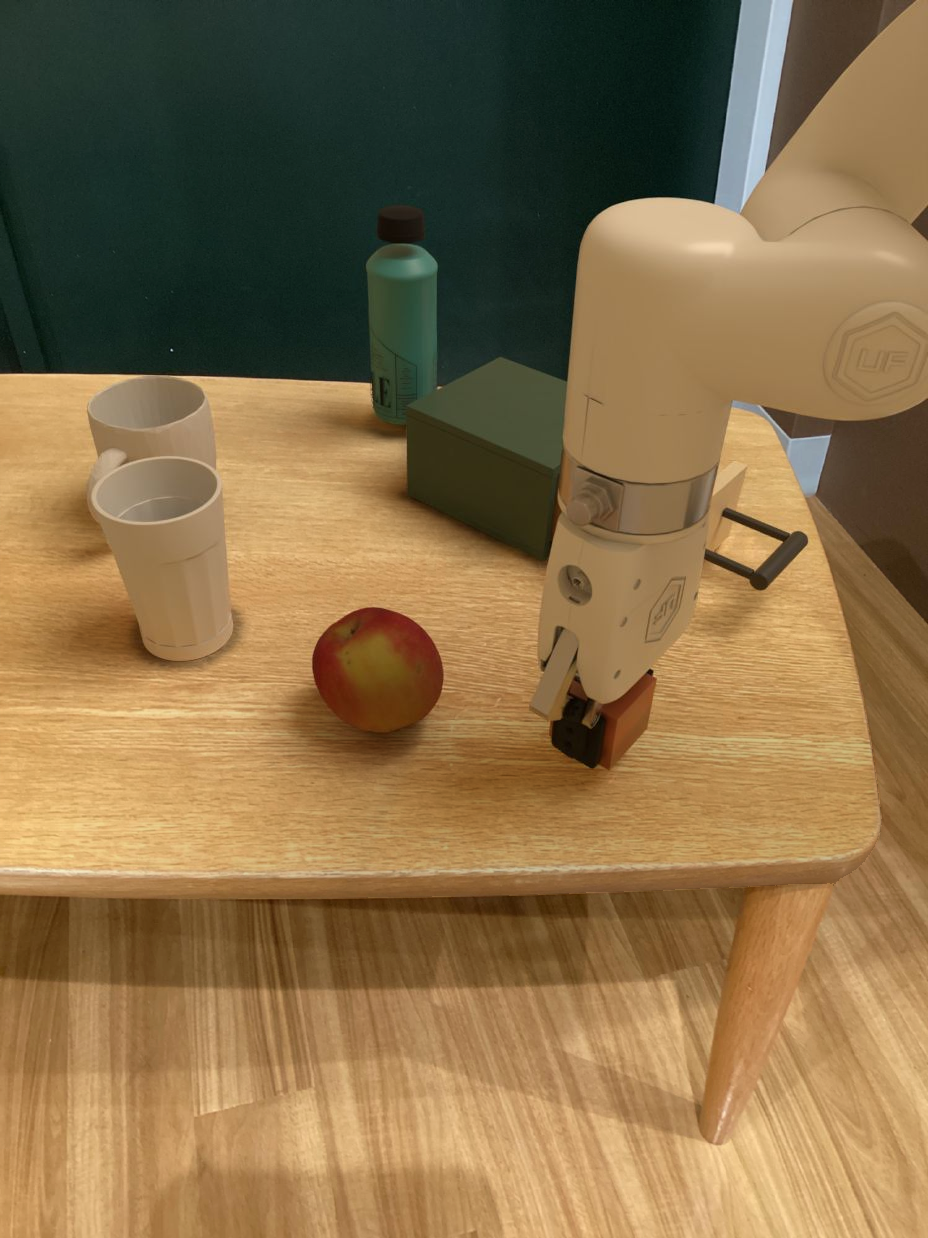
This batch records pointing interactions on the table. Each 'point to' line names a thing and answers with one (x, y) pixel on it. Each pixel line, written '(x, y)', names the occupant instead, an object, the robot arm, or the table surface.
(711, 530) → the drawer
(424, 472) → the cabinet
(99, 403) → the mug
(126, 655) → the table surface
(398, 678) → the apple
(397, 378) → the beverage bottle
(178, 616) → the cup
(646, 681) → the block
